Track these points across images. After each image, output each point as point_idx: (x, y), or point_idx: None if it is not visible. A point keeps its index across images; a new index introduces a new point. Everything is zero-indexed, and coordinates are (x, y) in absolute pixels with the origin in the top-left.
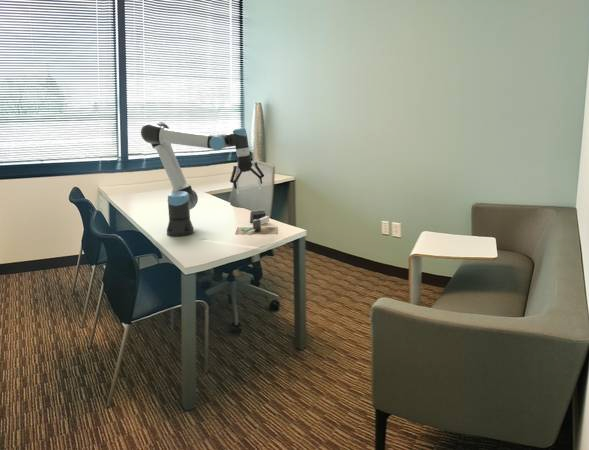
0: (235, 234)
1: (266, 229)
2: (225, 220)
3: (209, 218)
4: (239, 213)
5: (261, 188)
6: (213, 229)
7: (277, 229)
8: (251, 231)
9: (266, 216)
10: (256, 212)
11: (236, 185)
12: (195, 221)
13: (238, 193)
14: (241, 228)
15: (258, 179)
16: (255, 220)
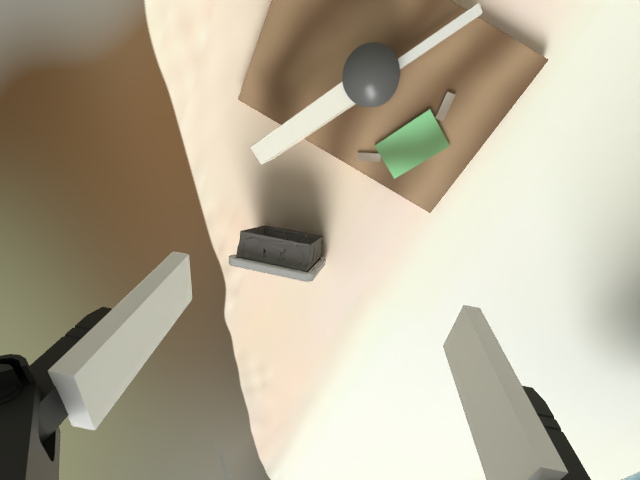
0: (543, 59)
1: (314, 79)
2: (385, 369)
3: (424, 426)
4: (287, 413)
5: (164, 260)
6: (531, 276)
7: (259, 44)
8: (439, 30)
9: (263, 157)
10: (283, 259)
11: (536, 427)
12: None
13: (476, 313)
14: (423, 180)
15: (89, 382)
16: (385, 67)
